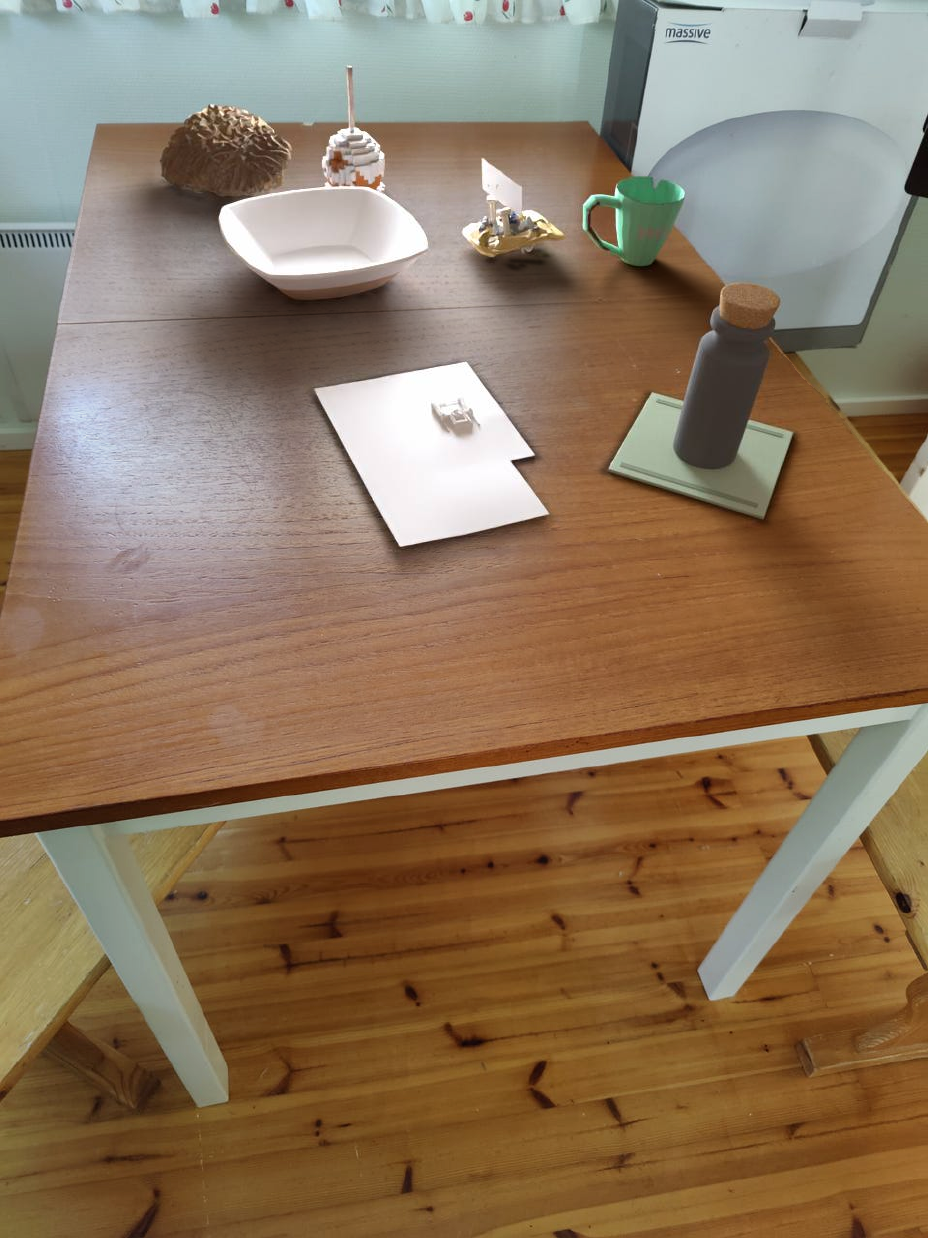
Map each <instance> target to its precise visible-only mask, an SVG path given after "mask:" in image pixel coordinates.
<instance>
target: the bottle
mask: <svg viewBox="0 0 928 1238" xmlns="http://www.w3.org/2000/svg"><path fill="white" fill-rule="evenodd" d="M719 295H720V296H719V297H720V298H719V305H717V306H716V307H715V308H714V309H713V311H712V313H711V317H710V320H709V323H710V327H711V329H712V330H710V331H708V332H707V333H705V334H704V335H703V336H702V337H701V339H700V341H699V344H698V348H697V351H696V355H695V358H694V362H693V365H692V369H691V373H690V377H689V381H688V384H687V388H686V392H685V394H684V399H683V401H684V402H683V406H682V410H681V414H680V418H679V421H678V425H677V429H676V433H675V437H674V442H673V448H674V451H675V453H676V454H677V455H678V457H680V458H681V459H682V460H683V461H685V462H687V463H689V464H691V465H693V466H696V467H700V468H706V469H717V468H722V467H726V466H728V465H730V464H731V463H732V462H733V461H734V460H735V457H736V455H737V452H738V449H739V447H740V444H741V441H742V438H743V435H744V432H745V429H746V426H747V423H748V420H750V417H751V414H752V411H753V409H754V407H755V403H756V399H757V396H758V393H759V390H760V388H761V384H762V381H763V378H764V376H765V373H766V369H767V367H768V363H769V361H770V356H771V350H770V347H769V345H768V343H766V341H768V340H769V339H770V338H772V336H773V334H774V333H775V332H774V331H775V328H776V319H775V317H774V316H775V314H776V312H777V311H778V309H779V308H780V306H781V297H780V296H779V295H778V294H777V293H776V292H775V291H773V290H772V289H770V288H768V287H766V286H763V285H760V284H756V283H751V282H734V283H733V282H732V283H730V284H727V285H724V287H723V288H721V290H720V294H719Z"/></svg>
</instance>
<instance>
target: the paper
mask: <svg viewBox="0 0 928 1238" xmlns="http://www.w3.org/2000/svg"><path fill="white" fill-rule="evenodd" d="M313 391H314V393H315V394H316V396H317V397H318V401H319V402H320V404H321V406H322V408H323V410H324V411H325V413H326V414H327V417H328V418H329V420H330V422H331V424H332V426H333V428H334V429H335V432H336V434H337V435H338V438H339V439H340V441H341V443H342V445H343V447H344V449H345V451H346V452H347V454H348V456H349V458H350V460H351V462H352V464H353V465H354V467H355V469H356V471H357V472H358V474H359V476H360V478H361V480H362V481H363V483H364V486H365V487H366V489H367V491H368V493H369V495H370V496H371V498H372V500H373V503H374V504H375V505H376V508H377V509H378V511H379V513H380V515H381V516H382V519H383V520H384V522H385V524H386V525H387V527H388V528H389V530H390V532H391V534H392V535H393V537H394V539H395V540H396V542H397V544H398V546H399V547H406V546H412V545H416V544H417V545H418V544H421V543H427V542H431V541H437V540H442V539H449V538H453V537H459V536H464V535H468V534H473V533H477V532H482V531H485V530H490V529H495V528H499V527H502V526H506V525H509V524H514V523H518V522H522V521H526V520H527V521H528V520H531V519H535V518H539V517H542V516H546V515H547V516H548V515H550V512H549V511H548V510H547V508H546V507H545V506H544V504H543V503H542V501H541V500H540V498H539V497H538V496H537V495H536V493H535V492H534V490H533V489H532V488H531V486H530V485H529V484H528V482H527V481H526V480H525V478H524V477H523V476H522V474H521V473H520V471H519V470H518V469H517V468H516V466H515V465H514V464H513V462H512V461H515V460H520V459H525V458H529V457H533V456H536V454H535V453H534V452H533V450H532V448H531V447H530V446H529V445H528V443H527V442H526V441H525V439H524V438H523V436H522V435H521V434H520V432H519V431H518V430H517V428H516V427H515V426H514V424H513V423H512V421H511V420H510V419H509V417H508V415H506V413H505V412H504V410H503V409H502V408H501V406H500V405H499V404H498V402H497V401H496V400H495V399H494V397H493V396H492V394H491V393H490V392H489V390H488V389H487V388H486V387H485V385H484V384H483V383H482V381H481V380H480V378H479V377H478V376H477V375H476V373H475V372H474V370H473V368H472V367H471V366H470V365H469V363H468V362H467V361H462V362H458V363H452V364H447V365H442V366H436V367H430V368H424V369H420V370H419V369H418V370H413V371H407V372H402V373H396V374H389V375H385V376H381V377H376V378H371V379H363V380H359V381H353V382H346V383H340V384H334V385H329V386H323V387H316V388H313Z"/></svg>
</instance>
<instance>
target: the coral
mask: <svg viewBox="0 0 928 1238" xmlns="http://www.w3.org/2000/svg"><path fill="white" fill-rule="evenodd" d="M187 117H188V118H185V120H184V121H183V126H180V127H178V128H176V129H175V130H173V131H174V134H172V135H171V136H170V140H169V141H168V143H167V144H168V146H166V147H164V149H163V150H162V153H161V158H160V159H159V162H160V166H161V174H160V177H162V178H164V179H165V180H166V182H167V183H168V185H170V186H174V187H177V188H180V190H186V189H187V190H192V191H194V192H195V193H197V194H198V193H199V194H203V193H204V192H206V191H208V192H213V193H215V194H216V195H217V196H219V197H228V196H230V197H232V198H233V197H234V198H237V197H241V196H245V197H246V196H251V197H252V198H253V197H258V196H263V195H266V194H267V193H269V191H270V190H272V189H273V190H274V189H275V190H276V189H278V188H280V187H282V185H283V184H284V172H285V171H286V170H288V169H289V164H290V162H291V160H292V158H291V154H292V152H293V149H292V146H291V144H290V143H289V142H288V141H287V139H286V138H284V137H283V135H279V134H277V133H275V130H274V129H273V128H272V127H271V126H270V125H269V124H268V123H267V120H264V119H263V118H262V117H260V116H259V115H255V114H253V113H249V111H248V110H247V109H242V107H241V108H240V107H235V106H234V105H221V104H207V107H204V108H203V109H202V111H195V112H194V113H193V114H191V115H188V116H187Z"/></svg>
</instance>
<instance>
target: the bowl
mask: <svg viewBox="0 0 928 1238" xmlns="http://www.w3.org/2000/svg"><path fill="white" fill-rule="evenodd" d="M324 187H325V186H324ZM324 187H315V188H304V189H294V190H286V191H282V192H275V193H269V194H262V195H259V196H256V197H253V196H252V197H249V198H244V199H241V200H238V201H235V202H232V203H229V204H226V205H224V206H222V207H221V209H220V212H219V215H218V220H217V221H218V224H219V230H220V234H221V236H222V238H223V240H224V243H225V245H226V246H227V248H228V249H229V250H230V251H231V252H232V253H233V255H234V256H235V257H236V258H238V260H240V262H242V263H243V264H244V265H245V266H246V267H247V268H248V269H250V270H251V271H252V272H253V273H255V274H256V275H258V276H259V277H261V278H262V279H263V280H264V281H266V282H267V283H269V284H270V285H272V286H274V287H275V288H276V289H277V290H279V291H280V292H282V293H283V294H284V295H286V296H288V297H290V298H292V299H294V300H298V301H299V300H301V301H312V300H313V301H314V300H327V299H336V298H342V297H343V298H344V297H348V296H353V295H357V294H361V293H364V292H367V291H371V290H374V289H377V288H380V287H382V286H383V285H386V284H387V283H388V282H389V281H390V280H392V279H393V278H394V277H396V276H397V275H399V274H400V273H401V272H403V271H404V270H405V269H407V268H408V267H410V266H411V265H412V264H414V263H415V262H417V261H418V260H419V259H420V258H422V257H423V256H424V255H426V254H427V253H428V251H429V244H428V237H427V236H426V234H425V232H424V230H423V228H422V226H421V225H420V224H419V223H418V221H416V219H415V218H414V216H413V215H412V214H411V213H410V212H408V210H406V209H405V207H403V206H402V205H400V204H399V203H397V202H396V201H395V200H393V199H391V198H390V197H389V196H387V195H386V194H385V193H384V194H382V193H380V192H377V191H375V190H373V189H371V188H368V187H325V188H324Z"/></svg>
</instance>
